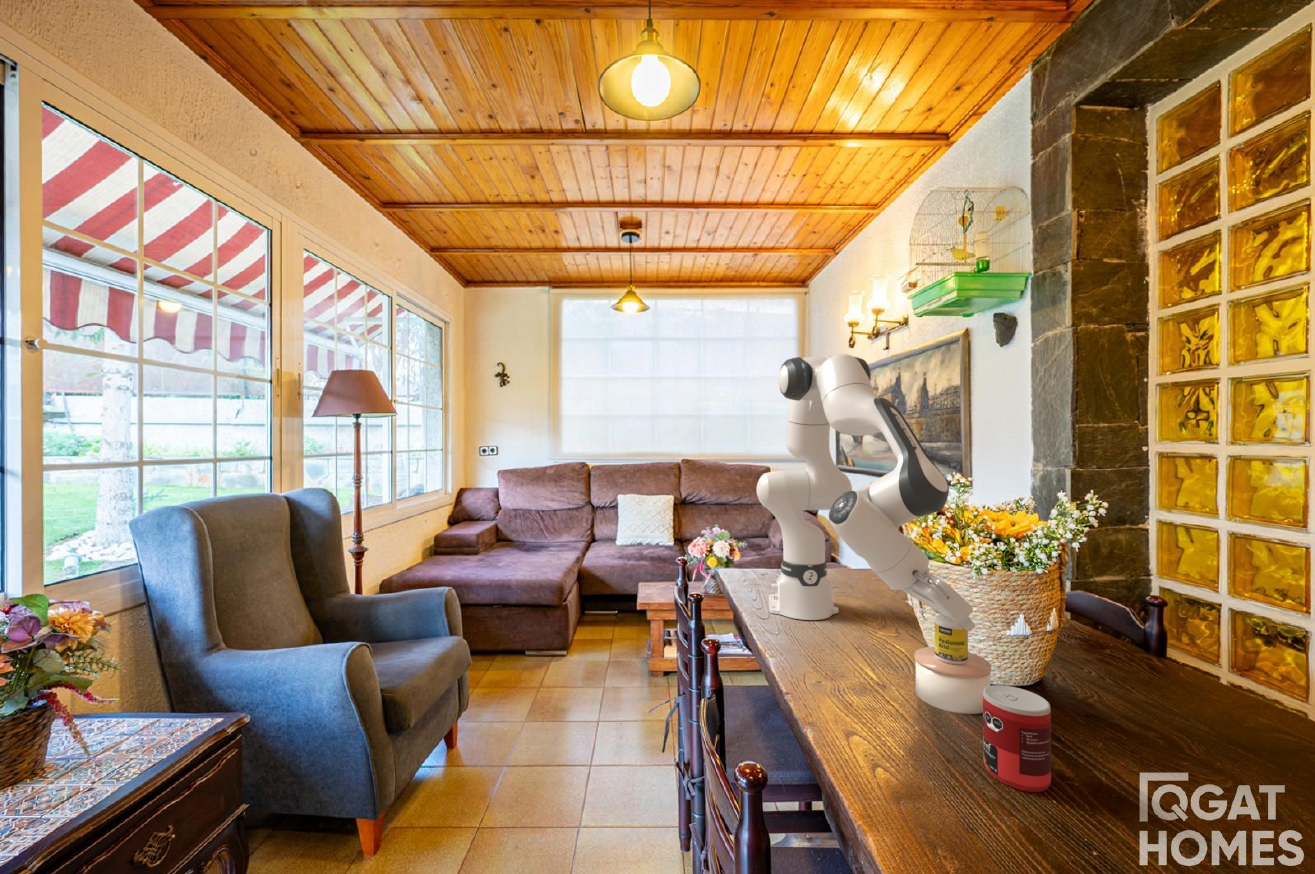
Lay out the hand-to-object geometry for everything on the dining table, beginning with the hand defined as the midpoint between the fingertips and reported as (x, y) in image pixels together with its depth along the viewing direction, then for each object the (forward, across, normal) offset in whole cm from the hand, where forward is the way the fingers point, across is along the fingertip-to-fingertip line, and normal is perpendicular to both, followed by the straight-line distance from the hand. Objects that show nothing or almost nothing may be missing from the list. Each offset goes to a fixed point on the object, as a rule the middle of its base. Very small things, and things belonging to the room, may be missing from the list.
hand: (954, 618), depth 99 cm
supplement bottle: (+5, 0, +6) cm, 8 cm away
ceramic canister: (+10, 0, +11) cm, 15 cm away
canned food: (+7, -23, +14) cm, 28 cm away
